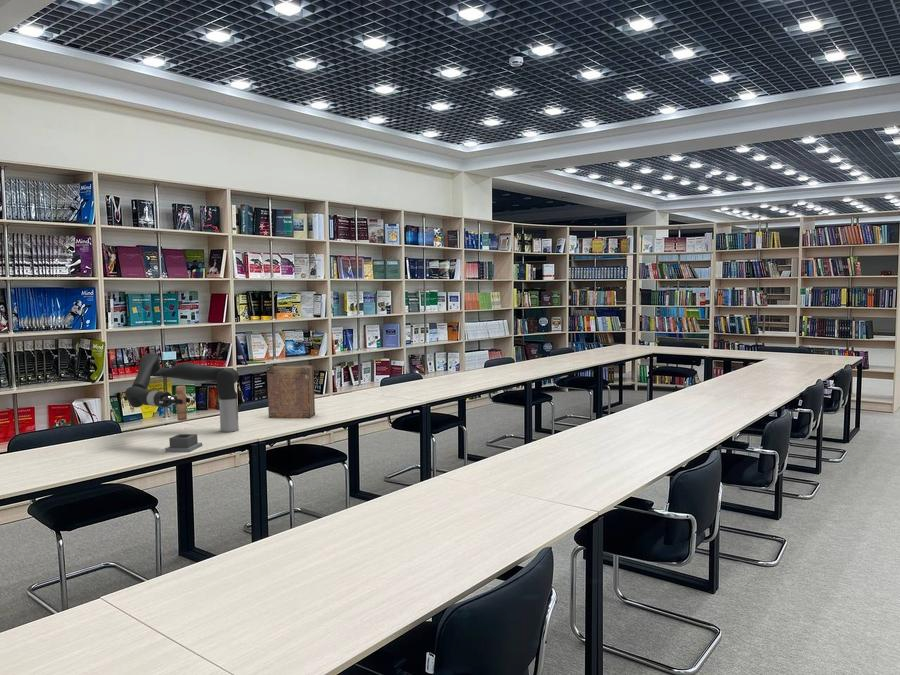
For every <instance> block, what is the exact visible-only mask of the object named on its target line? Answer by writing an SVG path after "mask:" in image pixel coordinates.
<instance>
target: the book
mask: <svg viewBox="0 0 900 675" xmlns="http://www.w3.org/2000/svg"><path fill="white" fill-rule="evenodd" d="M314 368H315V367H314V365H271V366H268V367H266V379H267V380H266V382H267V405H268V409H267V410H268V418H269V419H311V417H313V416H315V415H316V406H315V404H316V402H315V372H314Z"/></svg>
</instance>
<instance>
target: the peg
mask: <svg viewBox="0 0 900 675" xmlns="http://www.w3.org/2000/svg"><path fill="white" fill-rule="evenodd" d="M175 387H176V388H175V389H176V396H177V399H182V400H183V404H176V411H177V412H176V414H177V421H186V420H187V419H188V417H187V415H188V414H187V403H186V396H187V395H186V394H187V393H186V392H187V389H186V387H187V386H186V385H177V386H175Z"/></svg>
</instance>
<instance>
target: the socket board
mask: <svg viewBox="0 0 900 675" xmlns="http://www.w3.org/2000/svg"><path fill="white" fill-rule="evenodd" d="M168 440H169V446H167V447H165V448H164V451H165V452H166V453H167V452H168V453H190V452H193V451H194V450H197V449H198V448H200V447H202V446H203V442H198V441H199V440H198V434H197V433H178V434H176V435H174V436H172V437H169V438H168Z"/></svg>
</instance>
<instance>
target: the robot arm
mask: <svg viewBox="0 0 900 675" xmlns="http://www.w3.org/2000/svg"><path fill="white" fill-rule="evenodd" d="M151 377H153V378H154V377H157V378H170V379H171V378H173V379H180V380H183V381H184V380H185V381H192V382H197V381H198V382H205V381H206V382H207V381H213V382H216V391H217V395H218V401H219V403H218V404H219V424H220V425H219V426H220V428H219V430H220V432H221V433H223V432H224V433H230V432H235V431H239V428H240V427H239V408H238V407H239V406H238V405H239V404H238V393H237V391H236V387H235V384H236V383H237V382H238V380H239V378H240V375H239V372H238V371H237V370H236V369H234V368H232V367H215V366H209V365H204V364H199V363H193V362H184V361H183V362H180V363H178V364H175V365H174V366H171V367H161V362H160V358H159V356H158V355H157V354H156V353H151V352H150V353H146V354H143V355H142V356H141V357H140V364H139V367H138V371H137V374H136V377H135V379H134V381H133V382H132V384H131V386H129V387H128V388H126V389H125V391H124V396H125V397H126V399H127V401H128V403H129V405H130V406H131V407H132V408H141V407H142V406H143V405H145V406H153V407H158V408H168V407H169V406H172V405H177V404H183V400H182V399H177V395H174V394H172V393H171V392H169V391H162V390H148V387H149V385H150V382H151ZM190 403H191V398H190V397H187V395H186V404H190Z"/></svg>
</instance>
